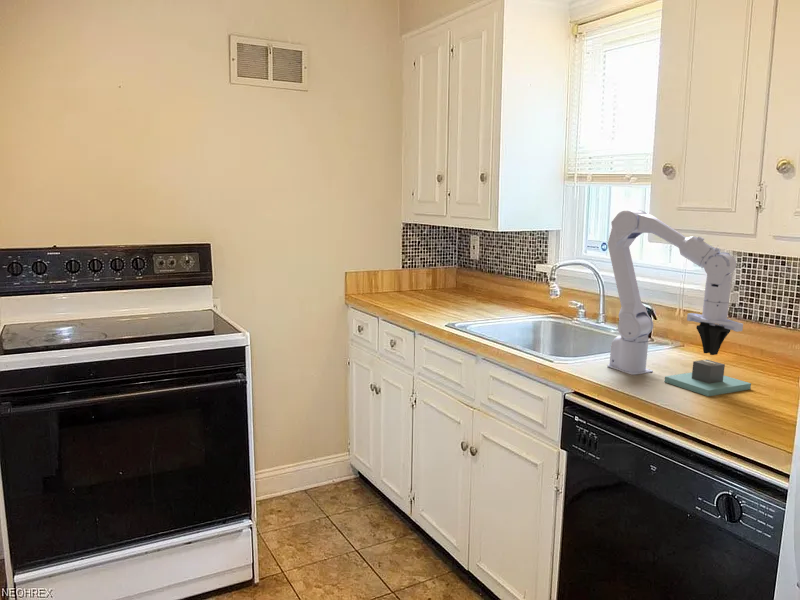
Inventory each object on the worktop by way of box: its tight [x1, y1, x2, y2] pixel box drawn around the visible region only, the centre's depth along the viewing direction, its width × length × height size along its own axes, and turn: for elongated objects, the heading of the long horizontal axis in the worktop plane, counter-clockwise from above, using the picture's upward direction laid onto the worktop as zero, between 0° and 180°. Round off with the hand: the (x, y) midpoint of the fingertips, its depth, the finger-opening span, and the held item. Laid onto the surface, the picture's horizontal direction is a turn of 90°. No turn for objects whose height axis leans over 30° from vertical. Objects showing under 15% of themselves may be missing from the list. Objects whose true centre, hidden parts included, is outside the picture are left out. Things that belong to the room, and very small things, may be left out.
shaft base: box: [664, 371, 752, 397], centre depth 165 cm, size 13×16×4 cm
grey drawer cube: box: [691, 359, 726, 384], centre depth 165 cm, size 5×5×5 cm
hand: (710, 353), depth 164 cm, fingers closed
